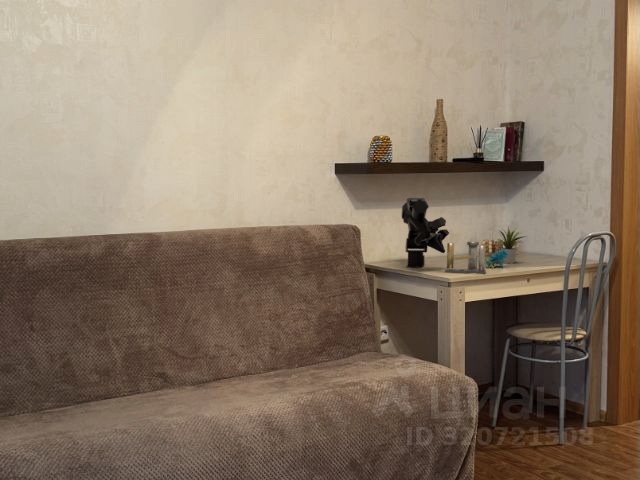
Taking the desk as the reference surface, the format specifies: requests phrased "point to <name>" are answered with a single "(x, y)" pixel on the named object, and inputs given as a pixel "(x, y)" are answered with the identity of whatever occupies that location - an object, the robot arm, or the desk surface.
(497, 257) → the blue animal figurine
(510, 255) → the house plant
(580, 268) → the desk surface
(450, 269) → the bolt plate
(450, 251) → the swing leg
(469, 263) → the grey stone tower
